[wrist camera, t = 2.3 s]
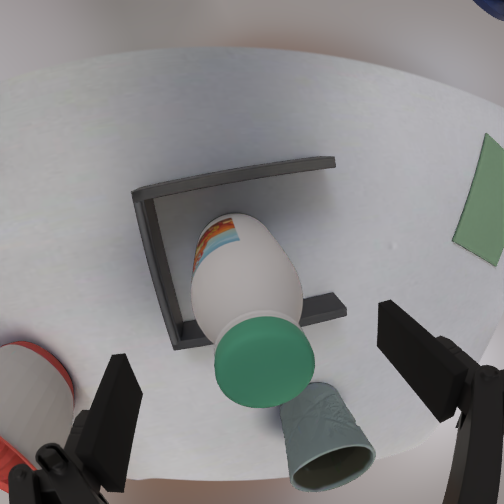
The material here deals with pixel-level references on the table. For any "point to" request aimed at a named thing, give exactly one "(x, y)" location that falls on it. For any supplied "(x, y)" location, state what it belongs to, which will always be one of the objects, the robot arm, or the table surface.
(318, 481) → the grey-green cup
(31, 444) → the citrus juicer
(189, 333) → the dark grey u-shaped frame
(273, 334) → the milk bottle
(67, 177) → the table surface
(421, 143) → the table surface
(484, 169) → the mat
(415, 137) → the table surface
